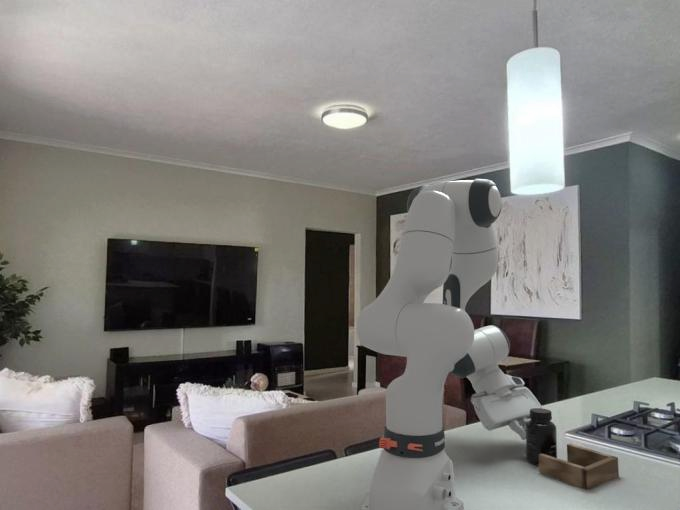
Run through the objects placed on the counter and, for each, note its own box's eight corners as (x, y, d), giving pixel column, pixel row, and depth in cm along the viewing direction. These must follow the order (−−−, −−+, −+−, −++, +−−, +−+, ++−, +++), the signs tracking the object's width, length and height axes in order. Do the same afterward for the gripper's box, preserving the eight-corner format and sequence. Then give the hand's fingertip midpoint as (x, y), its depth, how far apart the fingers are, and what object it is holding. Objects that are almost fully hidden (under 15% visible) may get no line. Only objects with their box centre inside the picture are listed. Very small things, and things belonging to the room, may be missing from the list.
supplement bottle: (560, 468, 112) (559, 415, 113) (529, 466, 114) (527, 413, 114) (553, 457, 119) (552, 407, 120) (524, 455, 120) (522, 406, 121)
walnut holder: (539, 472, 110) (538, 454, 110) (570, 460, 117) (569, 443, 117) (587, 490, 101) (587, 470, 101) (618, 475, 108) (617, 457, 108)
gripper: (474, 387, 120) (509, 439, 112) (525, 377, 132) (560, 423, 123) (461, 402, 124) (493, 453, 115) (511, 391, 135) (545, 436, 127)
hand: (528, 437), depth 119 cm, fingers closed
